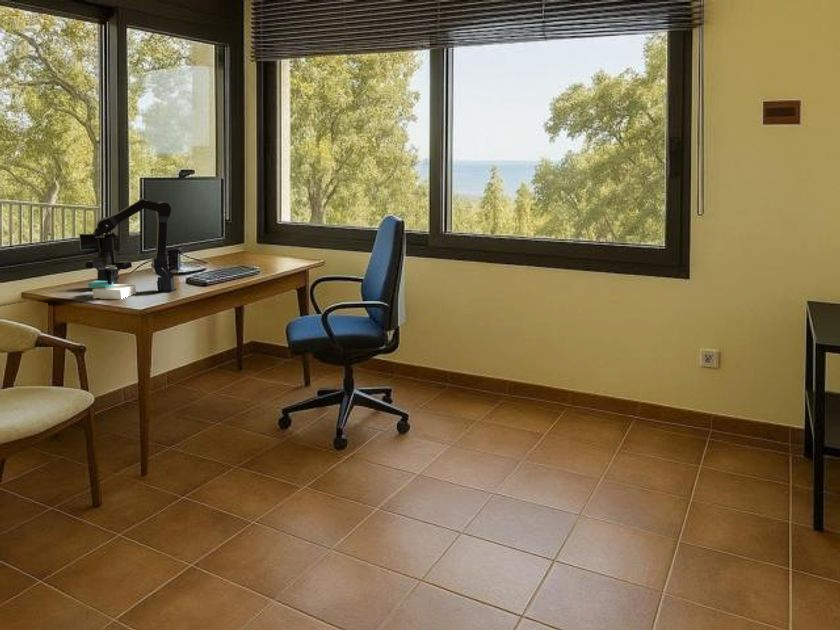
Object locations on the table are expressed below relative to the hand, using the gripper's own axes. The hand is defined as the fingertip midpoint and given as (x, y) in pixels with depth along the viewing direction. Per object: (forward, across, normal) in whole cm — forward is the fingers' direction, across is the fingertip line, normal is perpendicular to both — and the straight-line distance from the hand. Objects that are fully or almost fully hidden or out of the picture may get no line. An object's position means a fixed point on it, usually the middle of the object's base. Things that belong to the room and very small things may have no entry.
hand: (110, 284), depth 321 cm
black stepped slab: (+5, -11, +16) cm, 20 cm away
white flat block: (+5, +1, +1) cm, 5 cm away
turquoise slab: (+1, -5, 0) cm, 5 cm away
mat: (+5, -10, +2) cm, 12 cm away
